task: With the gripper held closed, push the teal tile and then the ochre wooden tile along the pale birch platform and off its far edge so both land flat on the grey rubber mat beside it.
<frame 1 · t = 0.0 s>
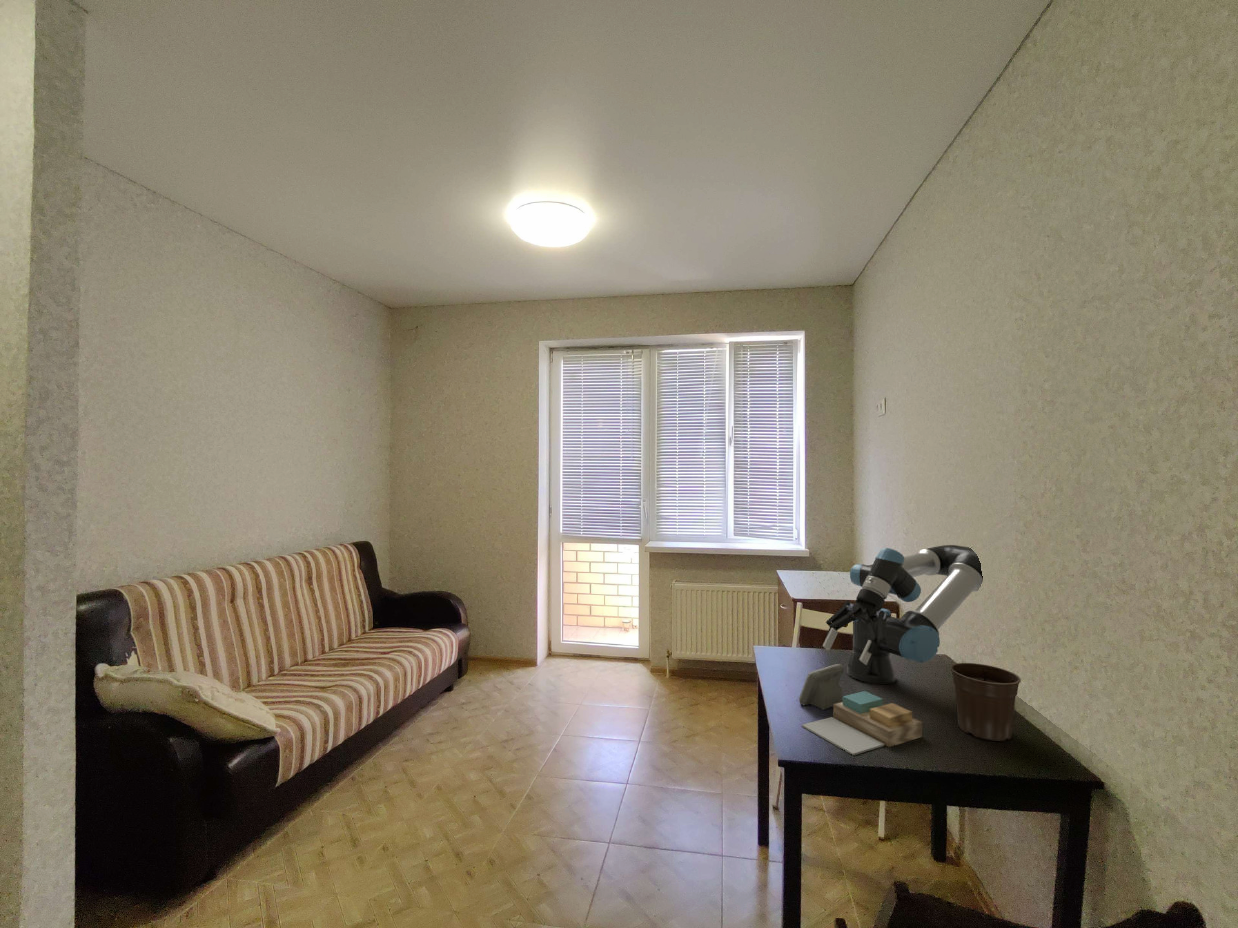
hand: (843, 655, 168), 15 cm above the table, tool tilted 35°, fingers open, 13 cm apart
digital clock: (821, 702, 171), on the table
ochre tile: (890, 719, 150), point 4 cm above the table, touching platform
platform: (876, 727, 154), on the table
mat: (841, 735, 149), on the table
plant pot: (983, 731, 153), on the table
teal tile: (862, 706, 158), point 4 cm above the table, touching platform
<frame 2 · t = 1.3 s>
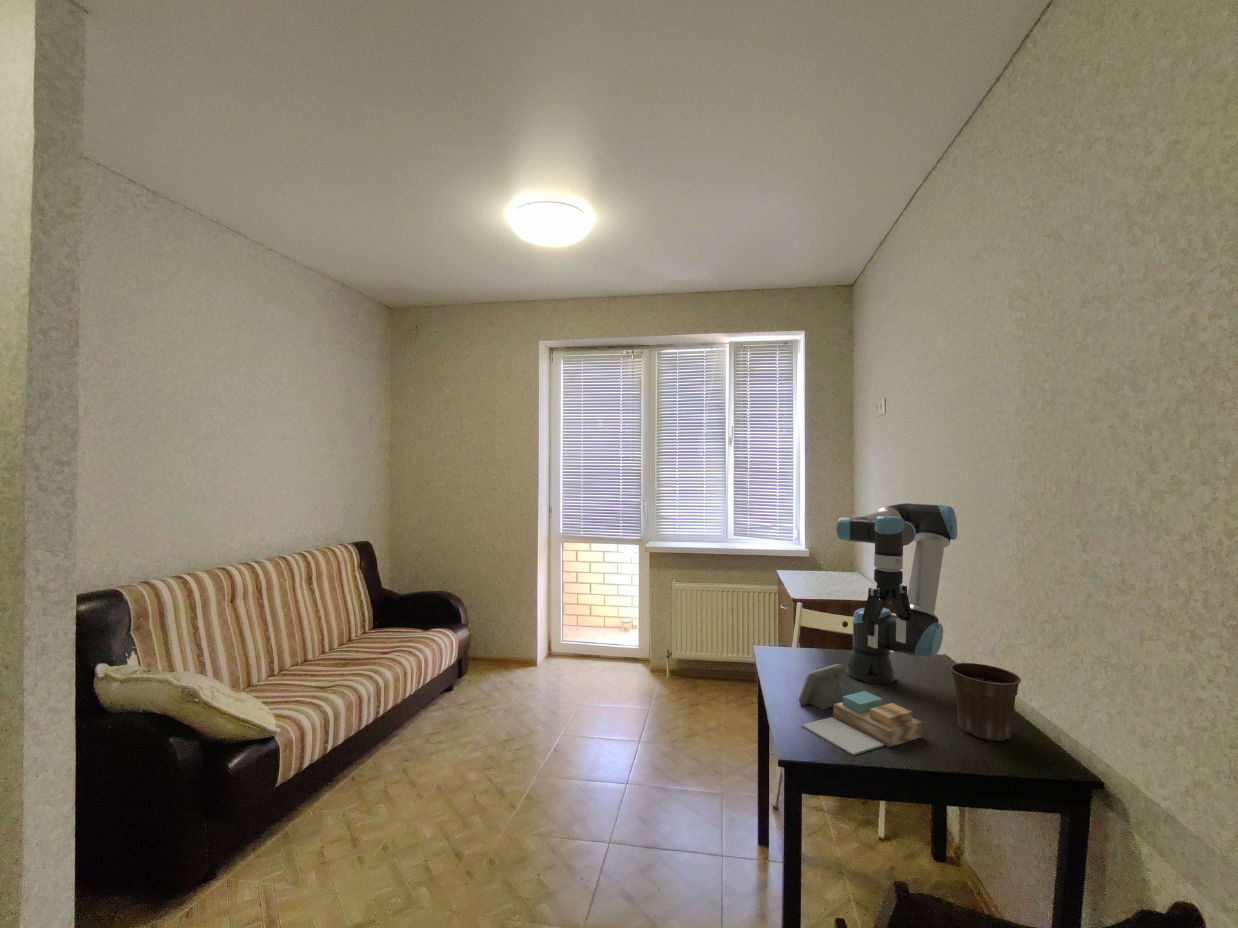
hand: (886, 644, 163), 20 cm above the table, tool pointing down, fingers open, 11 cm apart
nothing on the table moved.
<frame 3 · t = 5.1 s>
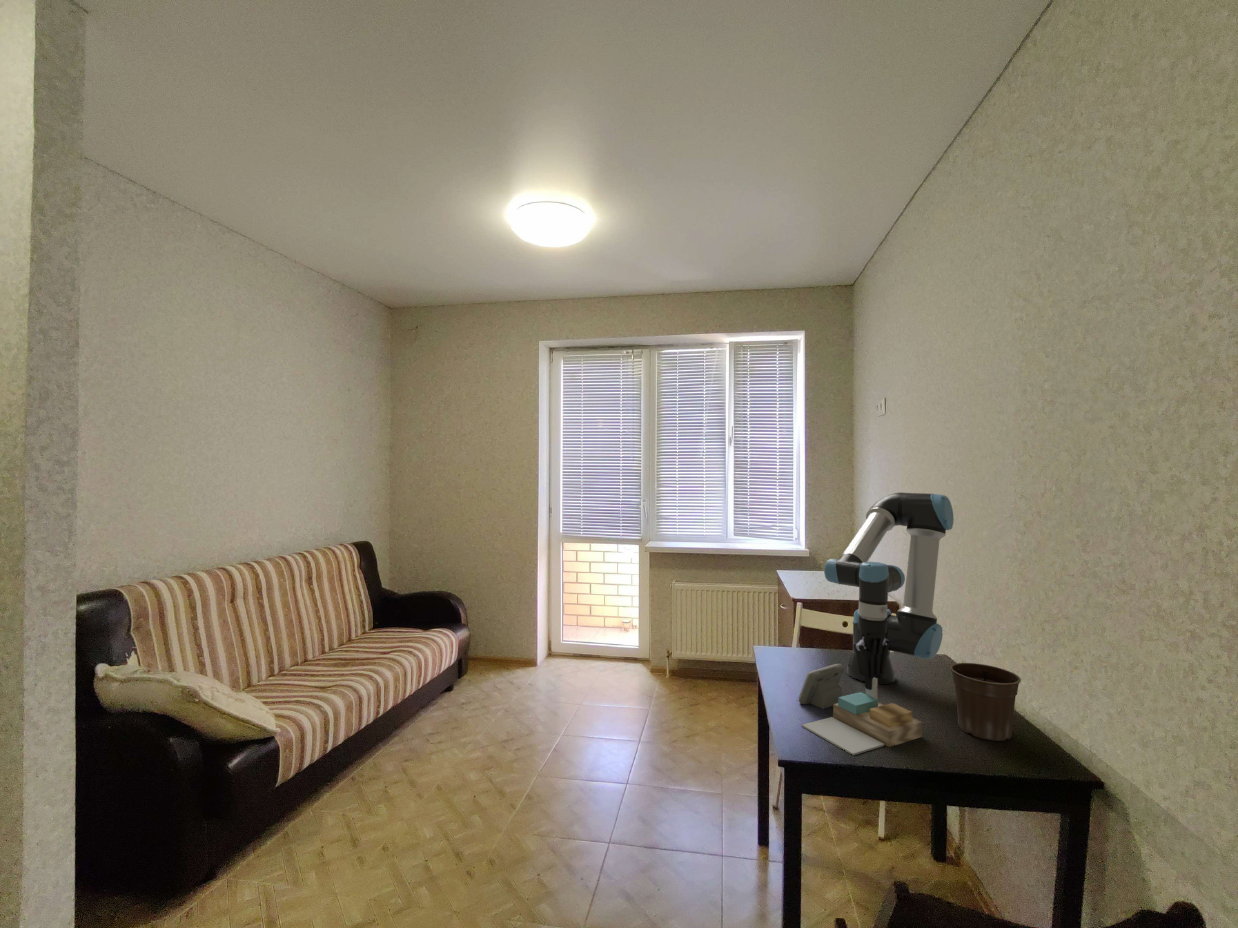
hand: (871, 699, 160), 5 cm above the table, tool pointing down, fingers closed
teal tile: (858, 707, 157), point 4 cm above the table
everything else where it was.
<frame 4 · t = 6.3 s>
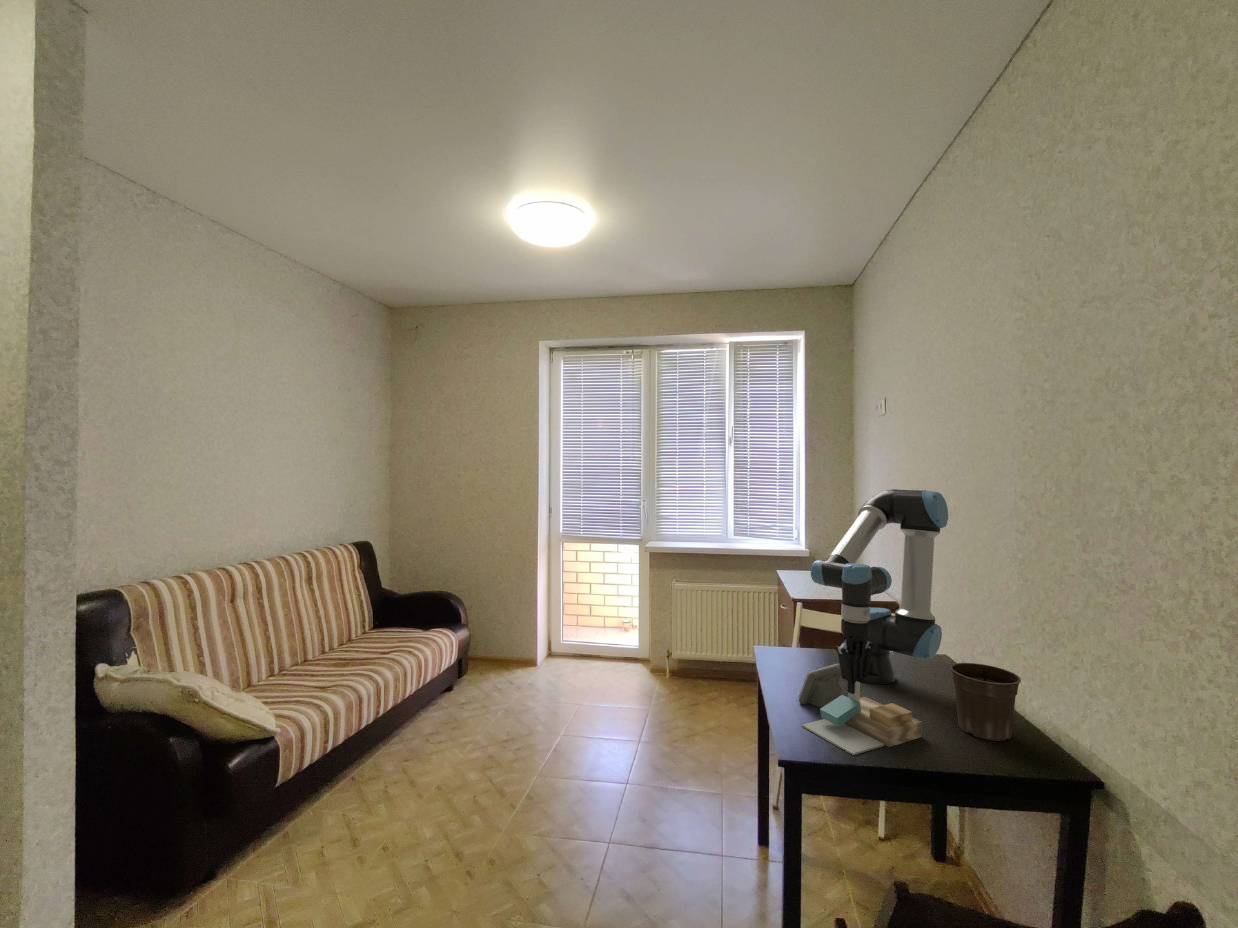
hand: (853, 704, 157), 5 cm above the table, tool pointing down, fingers closed
teal tile: (841, 714, 154), point 3 cm above the table, tilted 16°, touching platform
everything else where it was.
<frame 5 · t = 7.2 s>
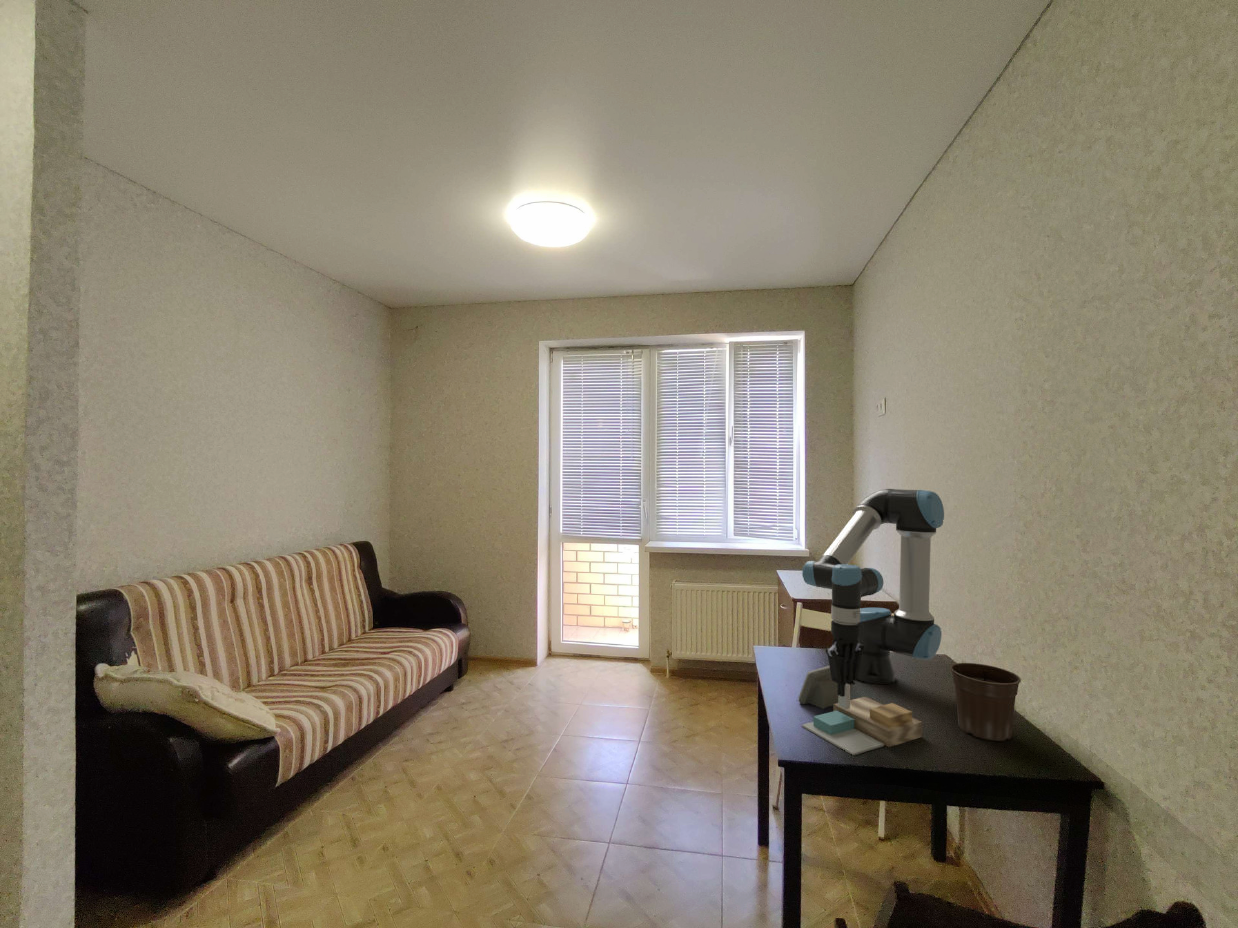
hand: (844, 706, 155), 5 cm above the table, tool pointing down, fingers closed
teal tile: (833, 726, 153), resting on mat
everything else where it was.
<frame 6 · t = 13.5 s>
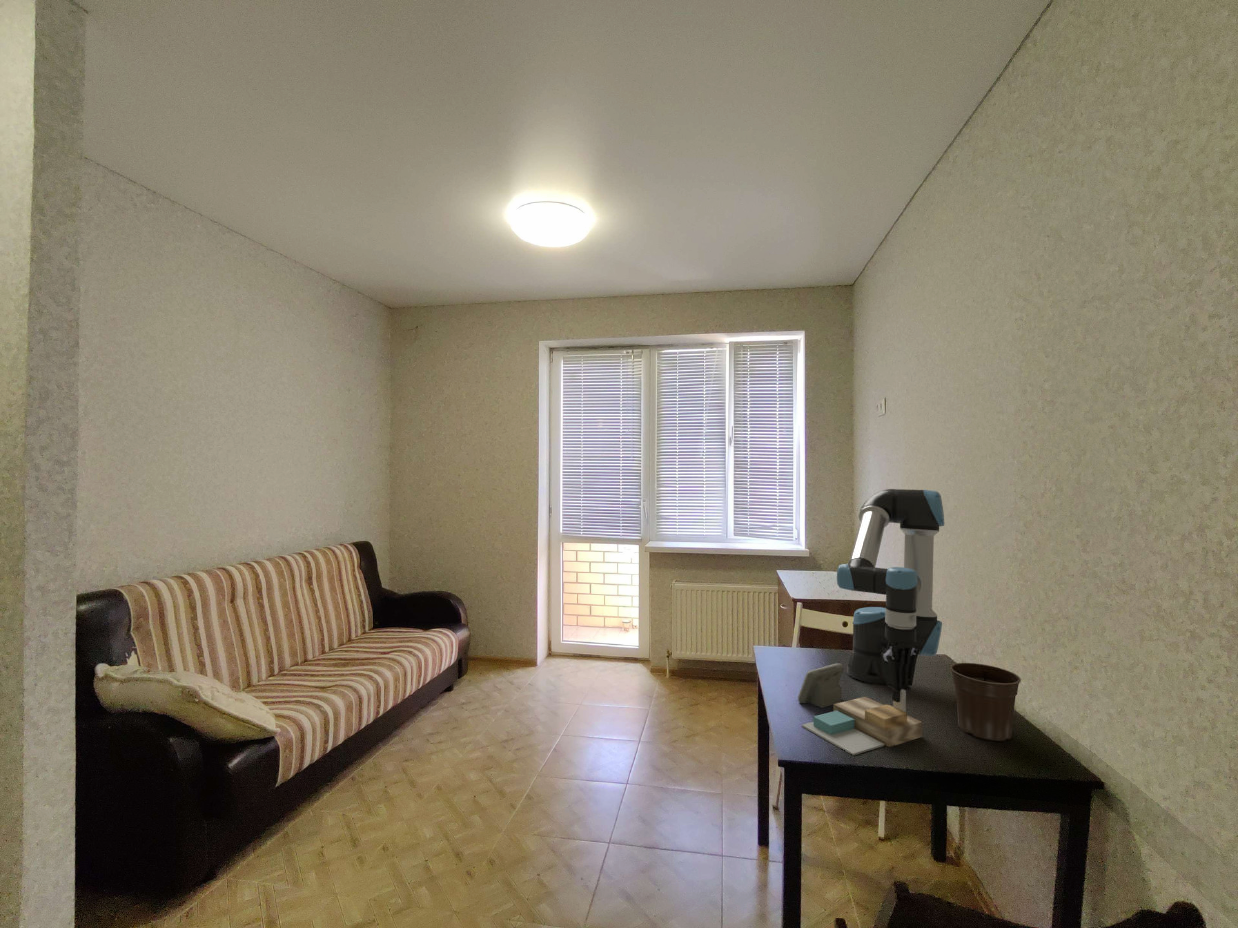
hand: (899, 712, 152), 5 cm above the table, tool pointing down, fingers closed
ochre tile: (885, 720, 149), point 4 cm above the table, touching gripper
everything else where it was.
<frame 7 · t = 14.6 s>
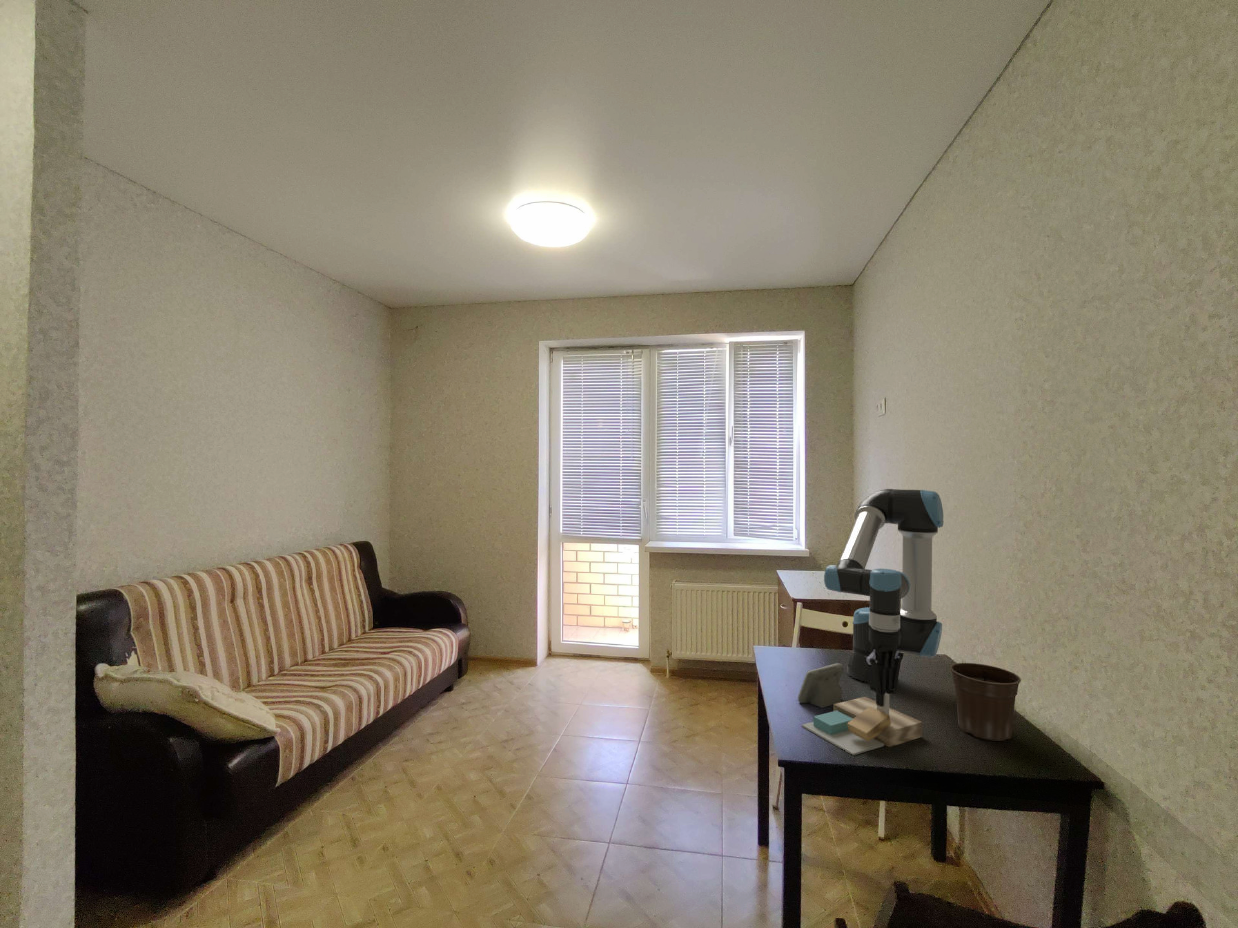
hand: (882, 717, 149), 5 cm above the table, tool pointing down, fingers closed
ochre tile: (870, 727, 146), point 3 cm above the table, tilted 19°, touching gripper
everything else where it was.
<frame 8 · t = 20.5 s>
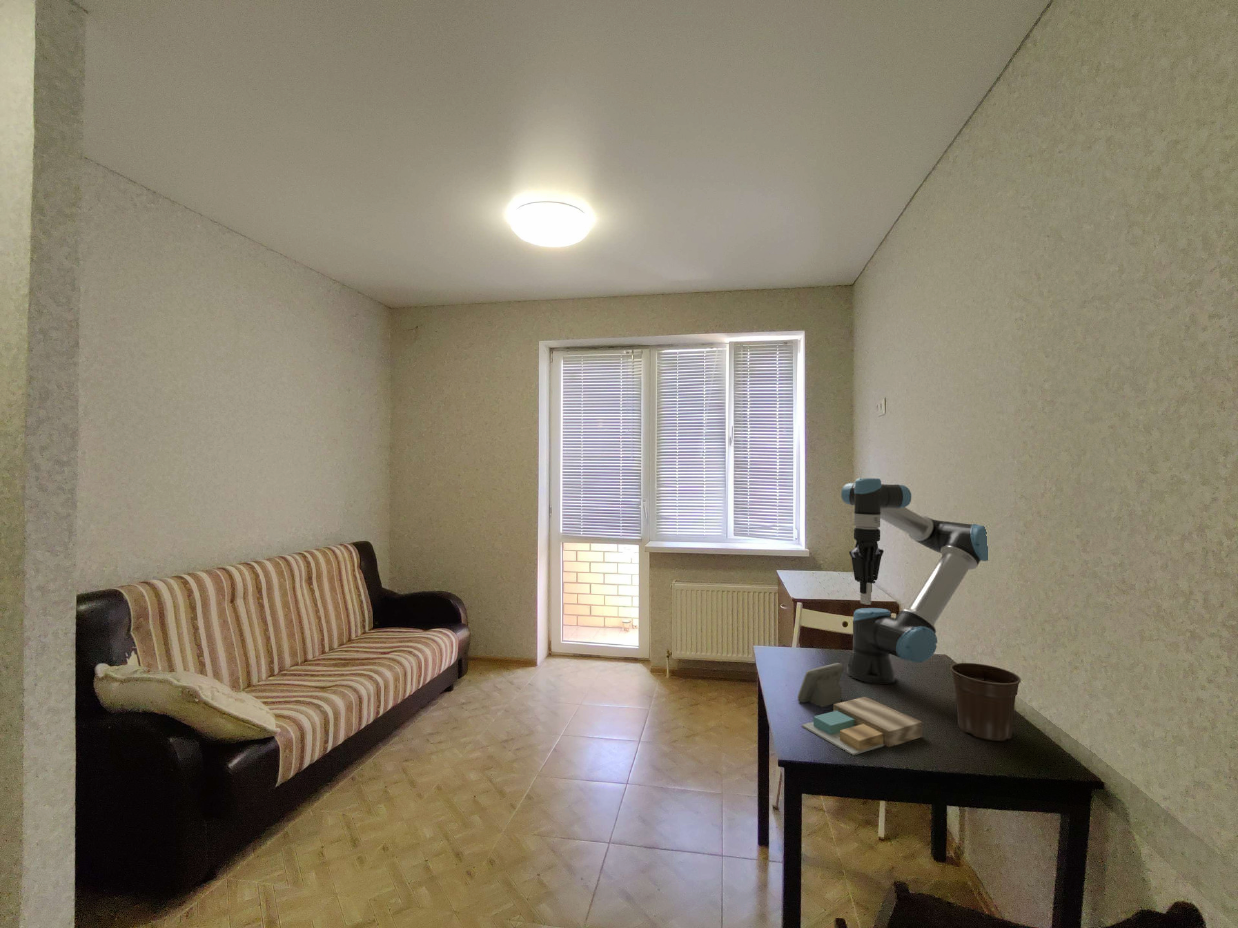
hand: (865, 603, 174), 29 cm above the table, tool pointing down, fingers closed
ochre tile: (861, 741, 145), resting on mat
at the end: teal tile inside the target area on the mat (4.0 cm from its centre), point 0.5 cm above the mat's base; ochre tile inside the target area on the mat (5.4 cm from its centre), point 0.5 cm above the mat's base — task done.
